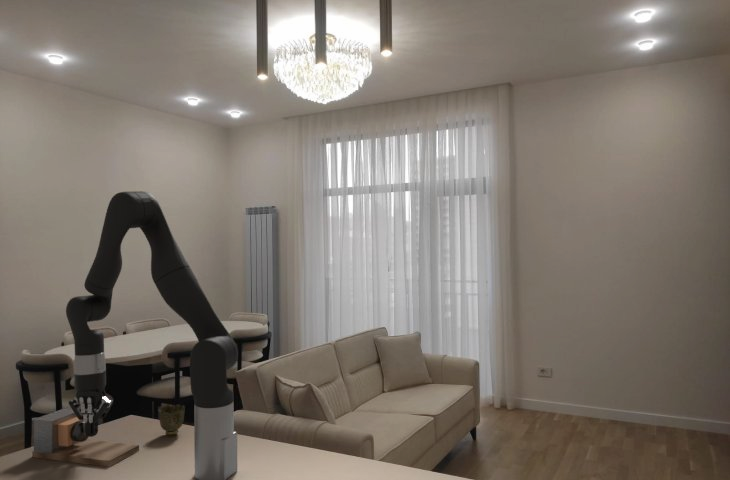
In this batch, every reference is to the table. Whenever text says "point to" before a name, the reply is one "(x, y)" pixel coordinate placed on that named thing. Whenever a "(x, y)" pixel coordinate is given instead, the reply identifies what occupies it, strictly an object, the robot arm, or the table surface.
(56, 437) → the block
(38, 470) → the table surface
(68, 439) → the spacer
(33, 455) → the baseboard
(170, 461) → the table surface
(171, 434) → the cup
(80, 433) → the shaft
